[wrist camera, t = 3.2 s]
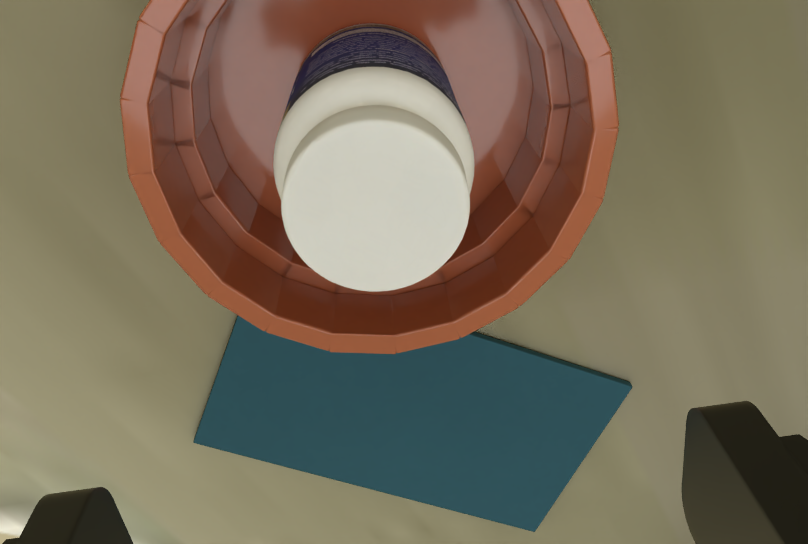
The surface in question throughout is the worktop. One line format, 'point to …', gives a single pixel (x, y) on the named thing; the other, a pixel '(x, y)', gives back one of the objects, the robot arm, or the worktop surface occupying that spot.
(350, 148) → the pill bottle
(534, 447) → the towel
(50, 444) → the worktop surface
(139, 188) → the pot
